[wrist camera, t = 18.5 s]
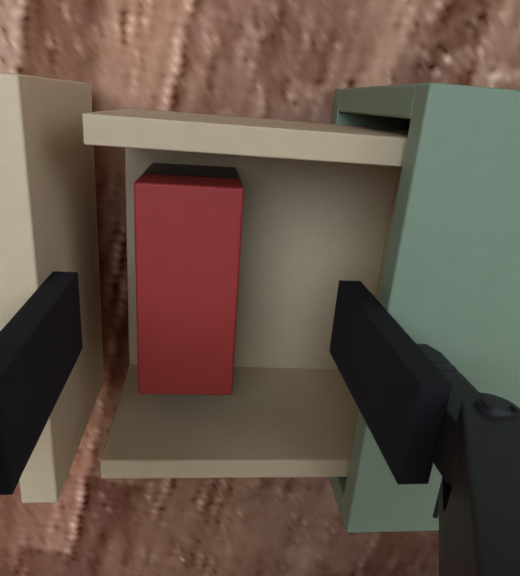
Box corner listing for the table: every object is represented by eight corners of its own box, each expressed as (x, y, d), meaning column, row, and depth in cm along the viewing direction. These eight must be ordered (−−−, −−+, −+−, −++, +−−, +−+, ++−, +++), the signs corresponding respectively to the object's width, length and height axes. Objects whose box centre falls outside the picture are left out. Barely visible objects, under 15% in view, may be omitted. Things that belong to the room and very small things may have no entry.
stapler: (227, 342, 23) (231, 405, 18) (153, 340, 22) (138, 404, 18) (236, 167, 20) (244, 188, 15) (151, 162, 19) (132, 182, 15)
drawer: (-58, 377, 23) (-182, 506, 16) (-114, 66, 18) (-330, 44, 11) (365, 384, 26) (428, 499, 18) (415, 110, 21) (527, 117, 13)
